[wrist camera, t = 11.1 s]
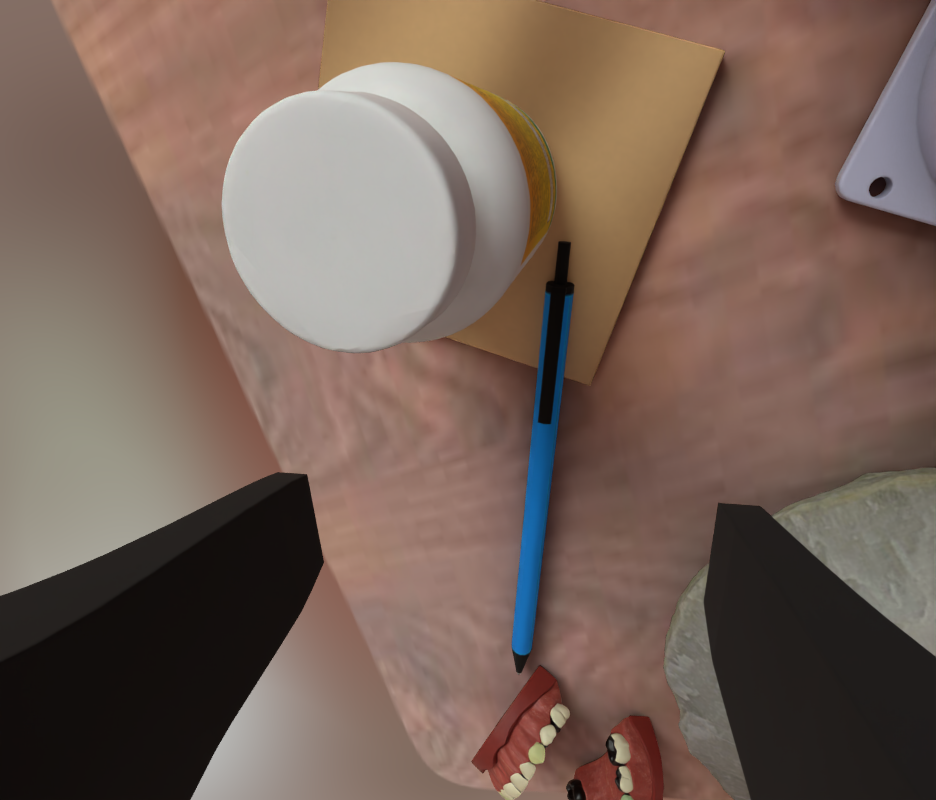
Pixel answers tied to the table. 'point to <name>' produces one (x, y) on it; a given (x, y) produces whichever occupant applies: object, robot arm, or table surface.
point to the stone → (848, 556)
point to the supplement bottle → (386, 206)
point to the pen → (542, 451)
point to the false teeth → (535, 725)
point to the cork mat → (555, 137)
